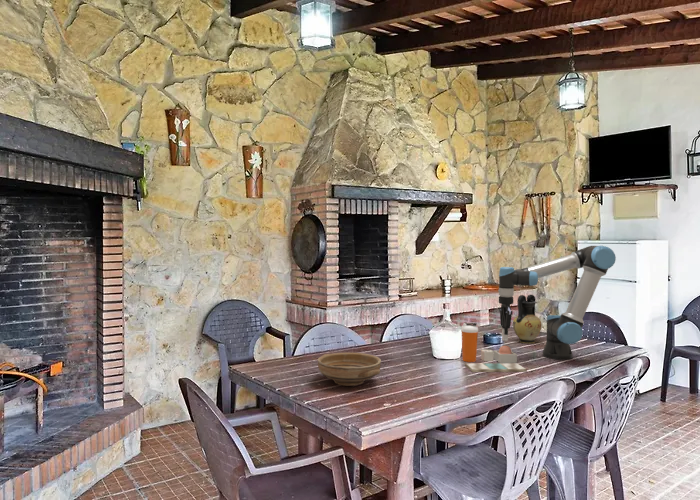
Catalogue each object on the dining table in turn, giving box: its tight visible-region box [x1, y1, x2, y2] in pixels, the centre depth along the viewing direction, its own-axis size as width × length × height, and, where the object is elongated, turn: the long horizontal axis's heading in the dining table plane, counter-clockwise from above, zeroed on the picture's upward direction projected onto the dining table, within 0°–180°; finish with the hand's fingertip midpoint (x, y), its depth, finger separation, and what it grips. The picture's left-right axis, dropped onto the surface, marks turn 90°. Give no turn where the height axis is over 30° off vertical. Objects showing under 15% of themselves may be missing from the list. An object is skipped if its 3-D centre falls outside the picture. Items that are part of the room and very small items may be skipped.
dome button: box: [498, 345, 513, 354], centre depth 265 cm, size 6×6×6 cm
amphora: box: [512, 294, 542, 344], centre depth 315 cm, size 18×17×30 cm
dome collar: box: [493, 350, 518, 364], centre depth 265 cm, size 9×9×4 cm
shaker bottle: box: [460, 321, 479, 363], centre depth 265 cm, size 9×9×20 cm
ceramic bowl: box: [316, 352, 382, 387], centre depth 223 cm, size 37×29×10 cm
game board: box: [464, 362, 528, 373], centre depth 249 cm, size 27×12×1 cm, turn 93°
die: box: [480, 349, 494, 362], centre depth 267 cm, size 5×5×5 cm
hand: (505, 340), depth 265 cm, fingers closed
